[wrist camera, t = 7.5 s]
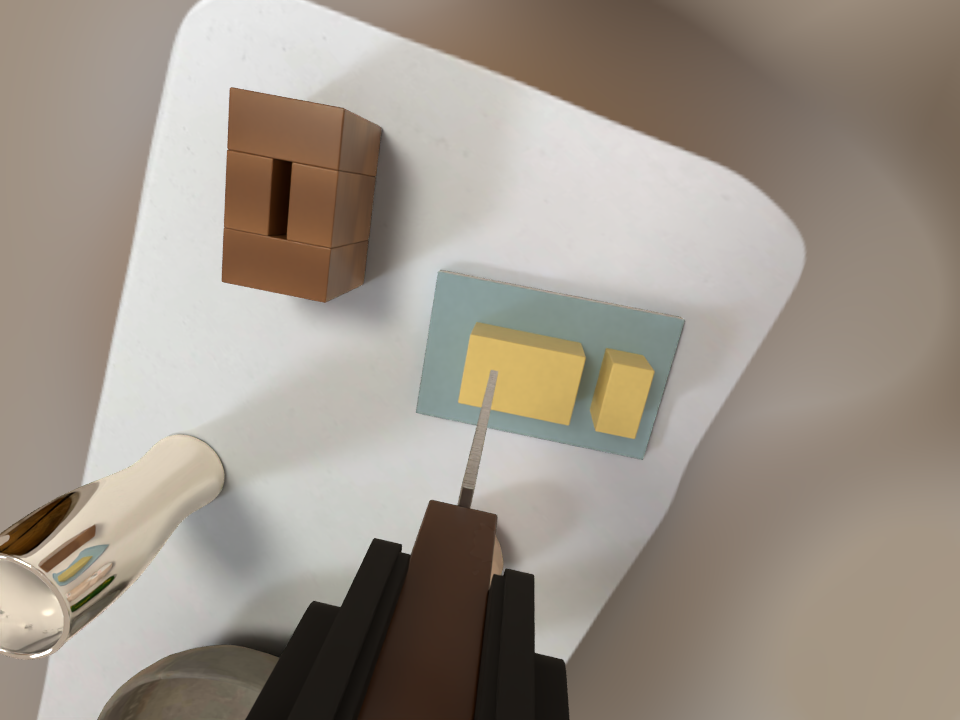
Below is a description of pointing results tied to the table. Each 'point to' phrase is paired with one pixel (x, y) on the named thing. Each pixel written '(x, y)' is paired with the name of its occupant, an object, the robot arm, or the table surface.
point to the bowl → (194, 686)
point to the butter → (523, 372)
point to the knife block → (297, 196)
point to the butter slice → (621, 393)
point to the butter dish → (549, 316)
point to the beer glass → (96, 543)
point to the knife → (440, 609)
